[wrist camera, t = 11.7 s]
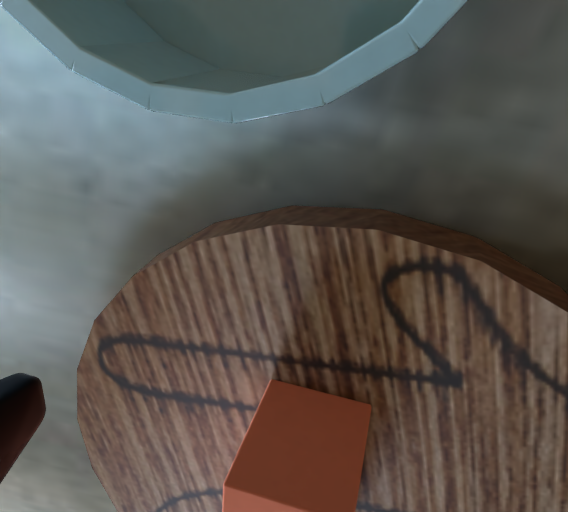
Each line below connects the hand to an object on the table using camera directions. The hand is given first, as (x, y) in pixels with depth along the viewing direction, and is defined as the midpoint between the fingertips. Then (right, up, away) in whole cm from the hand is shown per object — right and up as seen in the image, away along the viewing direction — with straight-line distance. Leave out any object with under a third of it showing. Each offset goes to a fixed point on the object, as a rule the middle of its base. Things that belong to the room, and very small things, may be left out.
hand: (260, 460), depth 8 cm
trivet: (+3, -6, +14) cm, 15 cm away
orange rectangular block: (+2, -5, +11) cm, 12 cm away
